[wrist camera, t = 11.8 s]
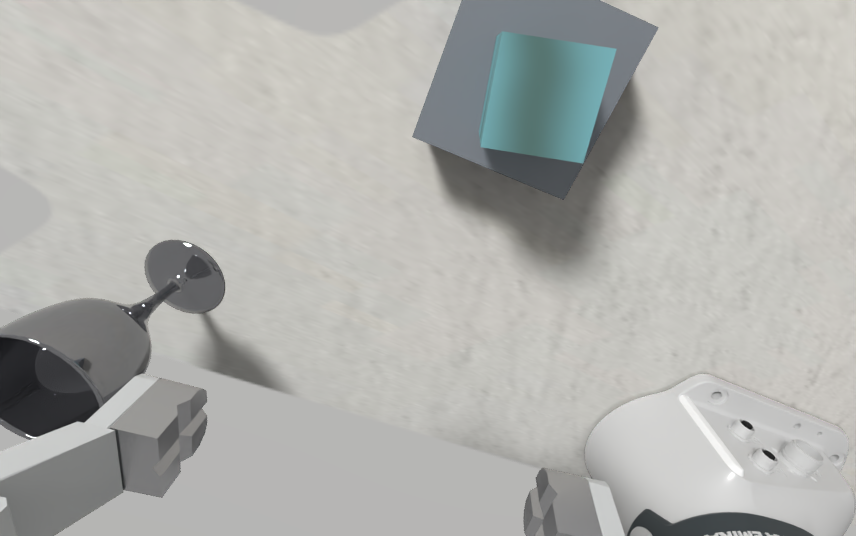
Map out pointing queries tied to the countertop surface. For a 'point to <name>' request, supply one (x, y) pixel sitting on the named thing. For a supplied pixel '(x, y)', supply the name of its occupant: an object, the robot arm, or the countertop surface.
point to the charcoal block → (470, 67)
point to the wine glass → (94, 343)
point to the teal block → (543, 96)
